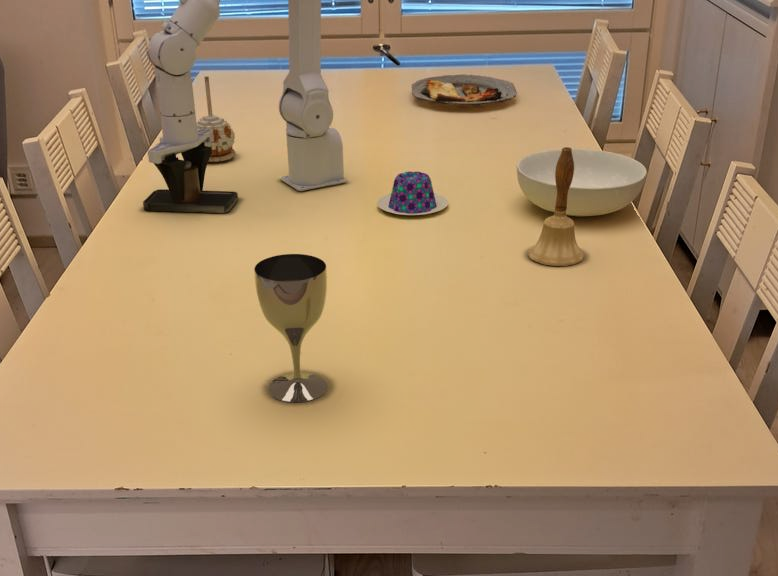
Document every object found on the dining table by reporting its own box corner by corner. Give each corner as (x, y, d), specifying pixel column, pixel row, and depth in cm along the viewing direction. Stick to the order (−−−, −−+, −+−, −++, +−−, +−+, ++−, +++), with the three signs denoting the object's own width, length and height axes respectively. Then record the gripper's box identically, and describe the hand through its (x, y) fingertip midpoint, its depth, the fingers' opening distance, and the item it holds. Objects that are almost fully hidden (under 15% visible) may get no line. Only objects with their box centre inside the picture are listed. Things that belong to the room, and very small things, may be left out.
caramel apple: (209, 167, 193) (200, 83, 184) (186, 158, 198) (177, 76, 189) (243, 158, 197) (235, 76, 188) (220, 150, 202) (212, 69, 193)
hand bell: (587, 248, 155) (599, 142, 146) (578, 269, 149) (590, 158, 140) (533, 243, 158) (541, 137, 149) (522, 263, 151) (530, 154, 142)
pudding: (362, 208, 172) (361, 177, 169) (408, 190, 179) (409, 160, 176) (416, 224, 165) (416, 192, 162) (462, 205, 172) (463, 174, 169)
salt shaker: (196, 198, 177) (191, 157, 173) (205, 205, 174) (200, 164, 170) (172, 202, 176) (166, 161, 172) (181, 210, 172) (175, 168, 168)
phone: (155, 189, 179) (239, 191, 177) (156, 195, 179) (239, 197, 177) (140, 204, 172) (227, 206, 170) (141, 210, 173) (227, 213, 171)
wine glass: (264, 373, 124) (254, 255, 116) (329, 370, 125) (324, 252, 116) (264, 406, 118) (253, 283, 109) (333, 402, 118) (328, 279, 110)
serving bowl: (564, 239, 159) (568, 195, 155) (490, 200, 174) (492, 159, 170) (668, 215, 166) (674, 173, 163) (588, 180, 182) (592, 141, 178)
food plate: (520, 112, 221) (522, 95, 219) (413, 114, 221) (413, 97, 219) (509, 84, 241) (510, 68, 239) (410, 86, 242) (410, 70, 240)
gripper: (187, 99, 173) (196, 179, 181) (128, 119, 163) (141, 203, 171) (220, 104, 170) (227, 185, 178) (162, 125, 160) (173, 210, 168)
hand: (187, 194), depth 174 cm, fingers closed on salt shaker, 4 cm apart
